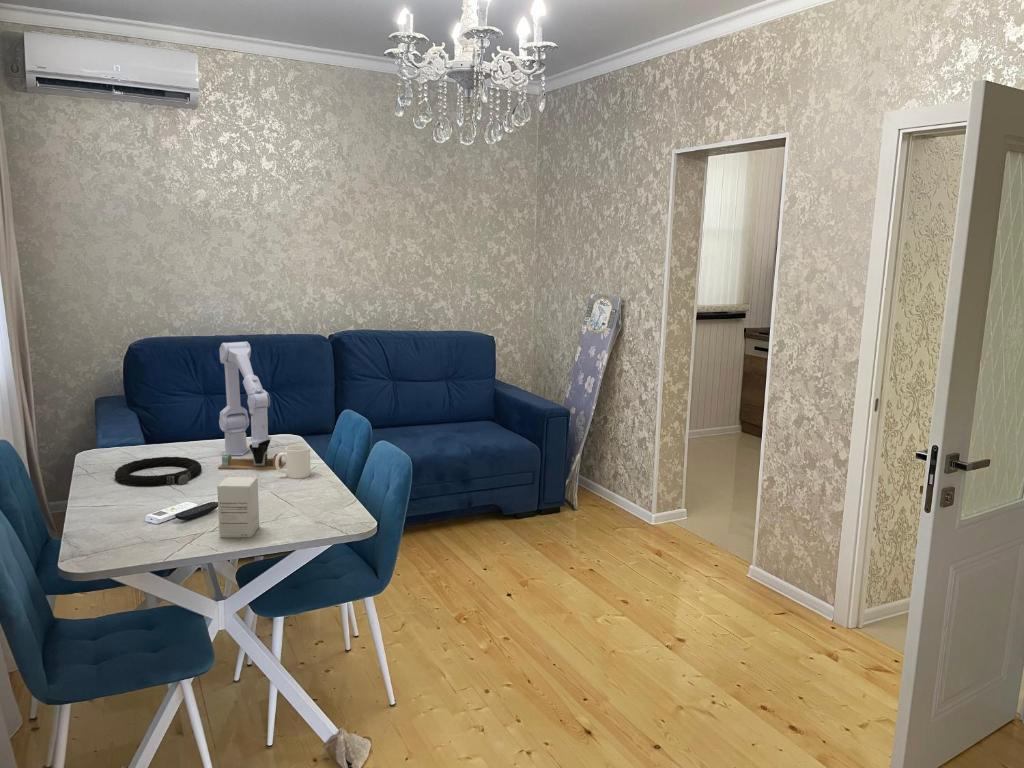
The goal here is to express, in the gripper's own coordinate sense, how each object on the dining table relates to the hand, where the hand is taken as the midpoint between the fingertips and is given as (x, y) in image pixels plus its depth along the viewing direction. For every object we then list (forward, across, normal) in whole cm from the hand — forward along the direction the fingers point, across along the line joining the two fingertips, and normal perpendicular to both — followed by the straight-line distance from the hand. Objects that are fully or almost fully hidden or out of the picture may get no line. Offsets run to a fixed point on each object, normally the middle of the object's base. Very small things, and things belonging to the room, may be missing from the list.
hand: (260, 461), depth 275 cm
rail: (+2, 0, +3) cm, 3 cm away
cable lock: (+2, -12, +31) cm, 33 cm away
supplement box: (+2, -66, -10) cm, 67 cm away
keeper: (+2, 0, 0) cm, 2 cm away
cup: (+2, -12, -14) cm, 19 cm away
